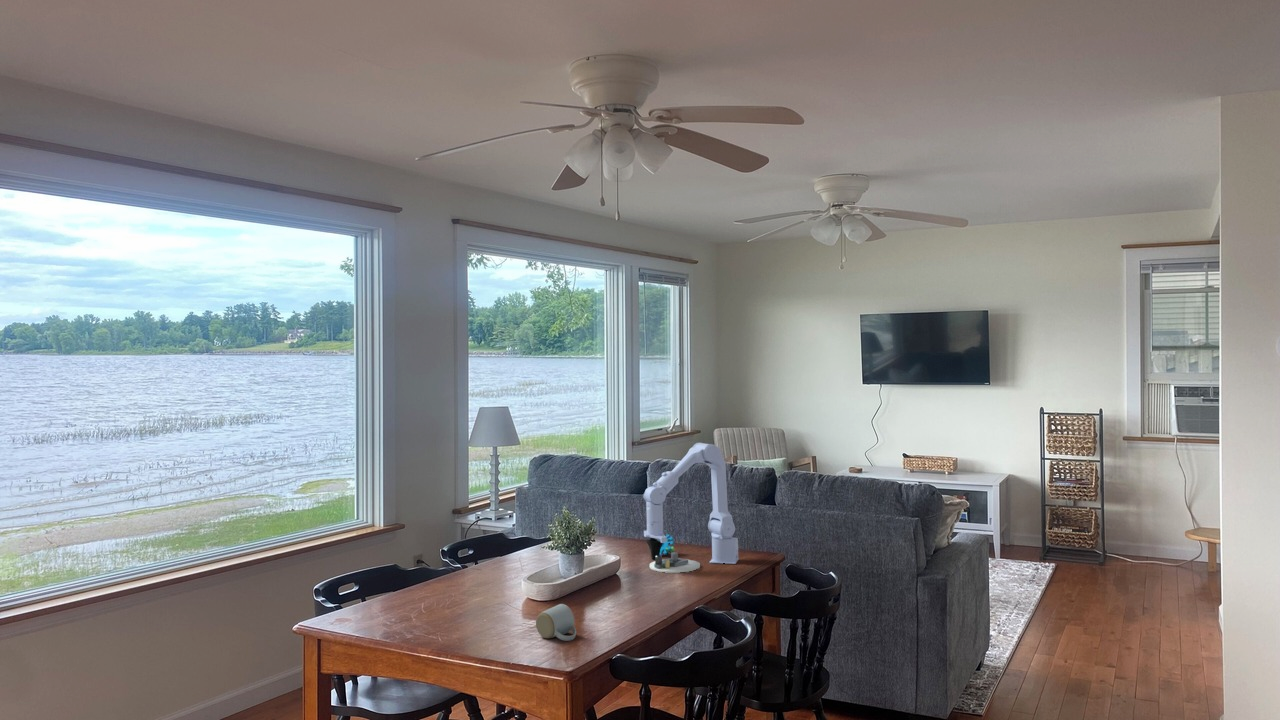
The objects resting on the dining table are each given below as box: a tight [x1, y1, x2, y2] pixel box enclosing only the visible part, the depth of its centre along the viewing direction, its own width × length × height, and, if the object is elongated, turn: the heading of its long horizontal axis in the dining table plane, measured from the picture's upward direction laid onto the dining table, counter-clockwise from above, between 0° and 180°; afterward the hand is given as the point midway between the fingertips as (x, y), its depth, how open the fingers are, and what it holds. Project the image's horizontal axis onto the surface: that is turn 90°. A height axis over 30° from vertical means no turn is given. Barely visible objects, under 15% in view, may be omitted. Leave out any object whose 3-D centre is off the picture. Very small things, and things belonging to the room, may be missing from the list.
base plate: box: [649, 551, 701, 574], centre depth 310 cm, size 18×18×5 cm
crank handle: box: [654, 554, 689, 568], centre depth 308 cm, size 13×7×4 cm, turn 133°
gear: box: [649, 533, 676, 556], centre depth 331 cm, size 11×6×10 cm
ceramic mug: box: [535, 603, 577, 642], centre depth 232 cm, size 11×8×8 cm
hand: (655, 559), depth 306 cm, fingers closed, pressing on crank handle
